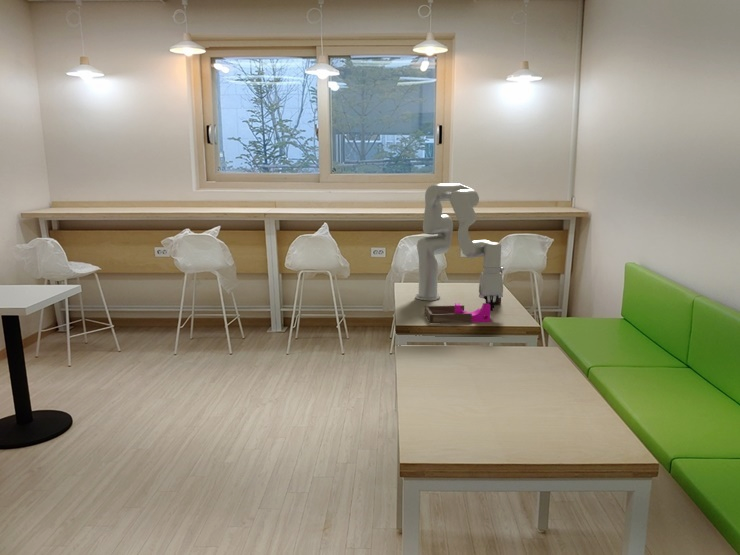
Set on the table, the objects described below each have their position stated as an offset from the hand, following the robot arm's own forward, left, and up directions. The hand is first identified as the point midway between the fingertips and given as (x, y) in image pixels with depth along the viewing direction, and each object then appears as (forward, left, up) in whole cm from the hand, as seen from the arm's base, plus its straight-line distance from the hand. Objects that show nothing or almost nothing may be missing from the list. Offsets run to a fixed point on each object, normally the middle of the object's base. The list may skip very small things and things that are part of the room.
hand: (490, 310), depth 263 cm
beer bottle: (-25, +9, -4) cm, 26 cm away
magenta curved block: (+3, -9, -4) cm, 10 cm away
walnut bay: (0, -20, -3) cm, 20 cm away
